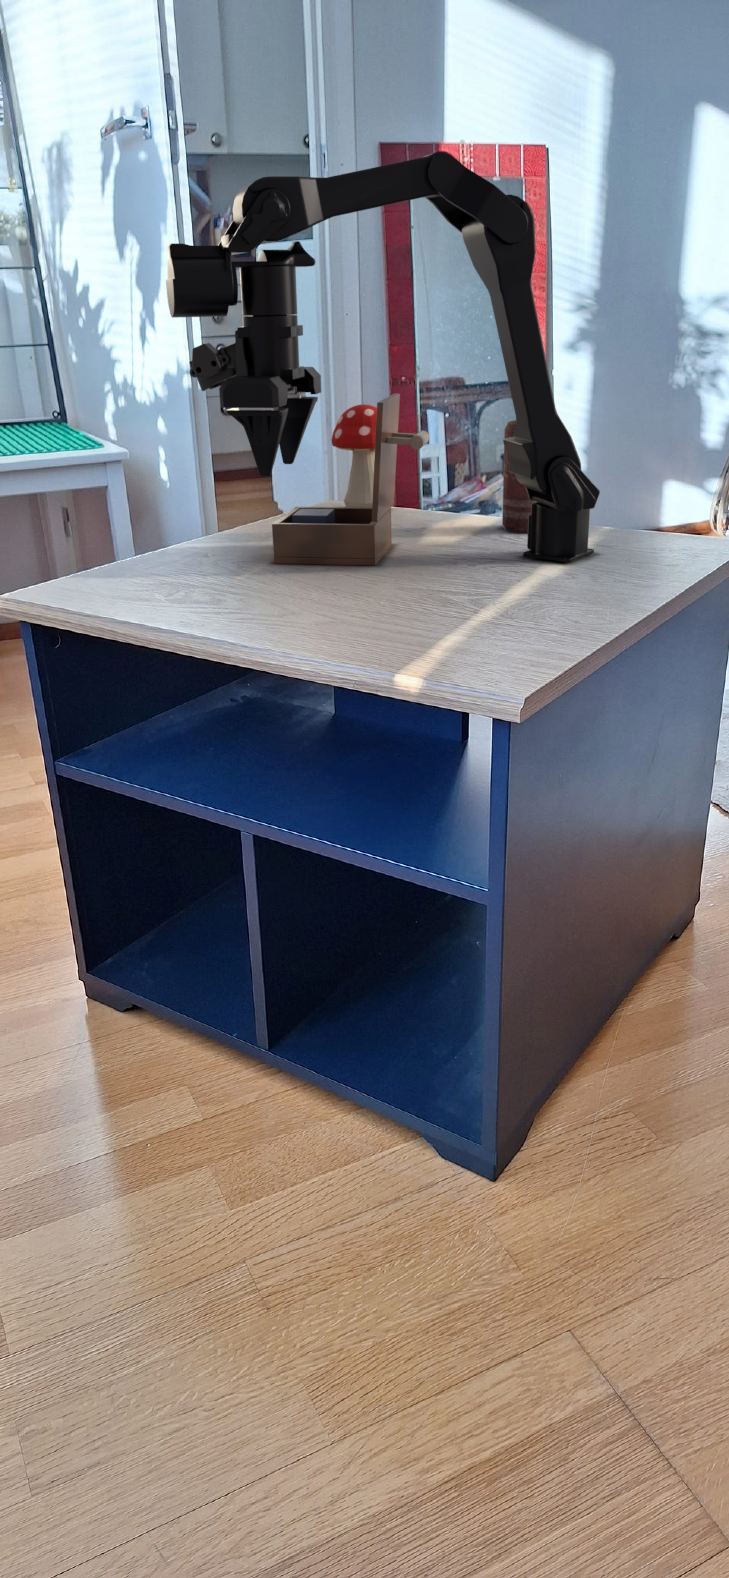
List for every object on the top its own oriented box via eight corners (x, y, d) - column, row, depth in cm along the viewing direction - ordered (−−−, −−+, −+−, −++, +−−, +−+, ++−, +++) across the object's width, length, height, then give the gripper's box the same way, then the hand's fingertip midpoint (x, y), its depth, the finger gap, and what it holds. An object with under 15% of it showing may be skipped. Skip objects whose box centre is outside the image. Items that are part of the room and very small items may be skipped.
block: (335, 544, 142) (334, 509, 140) (328, 551, 138) (326, 515, 136) (302, 543, 143) (300, 508, 141) (293, 551, 139) (291, 515, 137)
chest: (274, 563, 136) (271, 524, 134) (297, 543, 146) (295, 506, 144) (375, 565, 134) (374, 525, 132) (391, 545, 144) (391, 507, 142)
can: (552, 532, 148) (557, 423, 143) (504, 534, 149) (507, 424, 143) (546, 523, 154) (550, 417, 148) (500, 525, 154) (502, 419, 148)
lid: (377, 402, 126) (421, 405, 125) (394, 393, 136) (435, 396, 135) (371, 521, 132) (414, 525, 131) (388, 504, 142) (428, 507, 141)
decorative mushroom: (407, 506, 169) (406, 402, 163) (384, 516, 162) (382, 408, 156) (348, 502, 173) (345, 401, 167) (323, 512, 166) (319, 407, 160)
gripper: (224, 314, 126) (233, 457, 132) (164, 319, 109) (177, 482, 116) (320, 313, 124) (324, 458, 130) (273, 317, 107) (281, 484, 113)
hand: (277, 469), depth 122 cm, fingers open, 9 cm apart
